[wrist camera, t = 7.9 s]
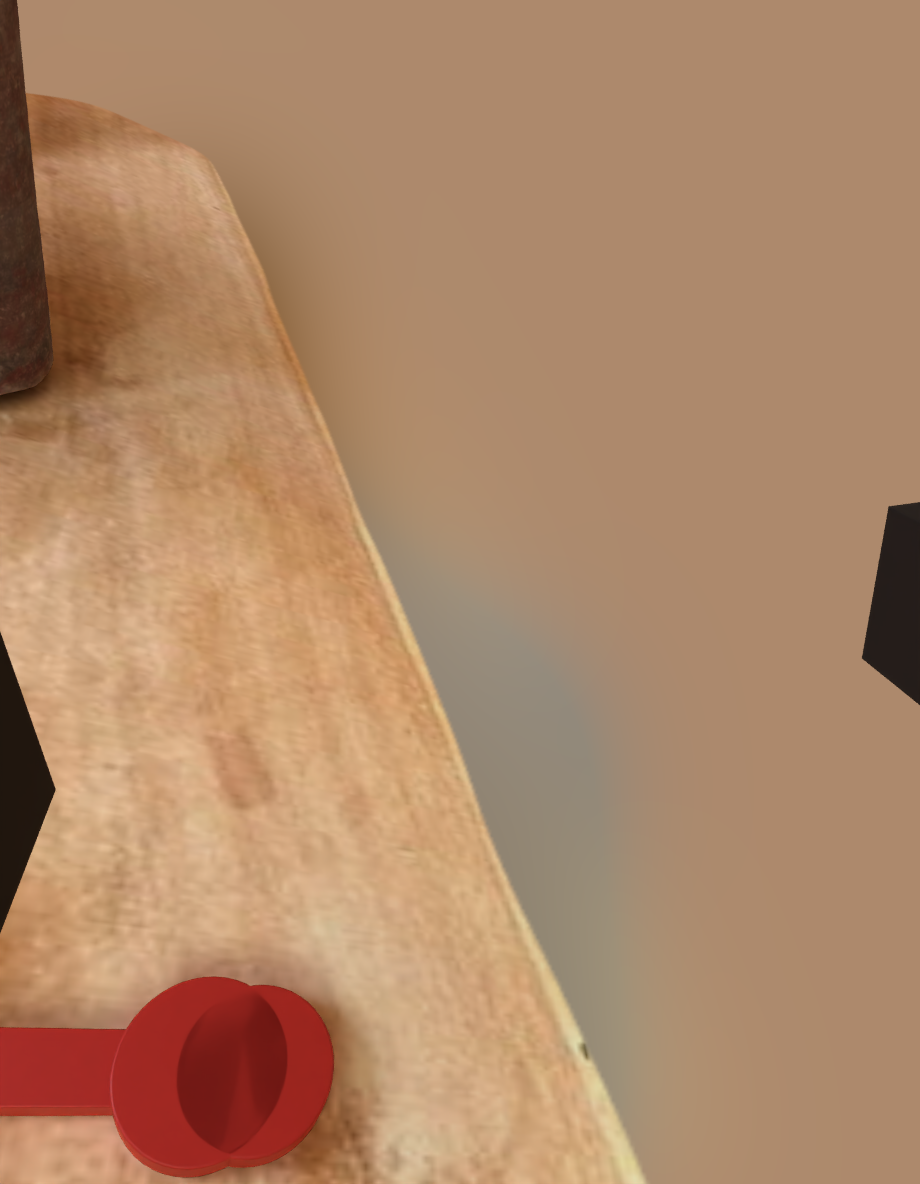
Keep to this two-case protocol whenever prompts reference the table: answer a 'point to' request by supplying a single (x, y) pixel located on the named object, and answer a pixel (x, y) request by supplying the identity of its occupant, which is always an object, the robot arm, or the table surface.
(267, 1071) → the spoon
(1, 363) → the candle
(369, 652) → the table surface
